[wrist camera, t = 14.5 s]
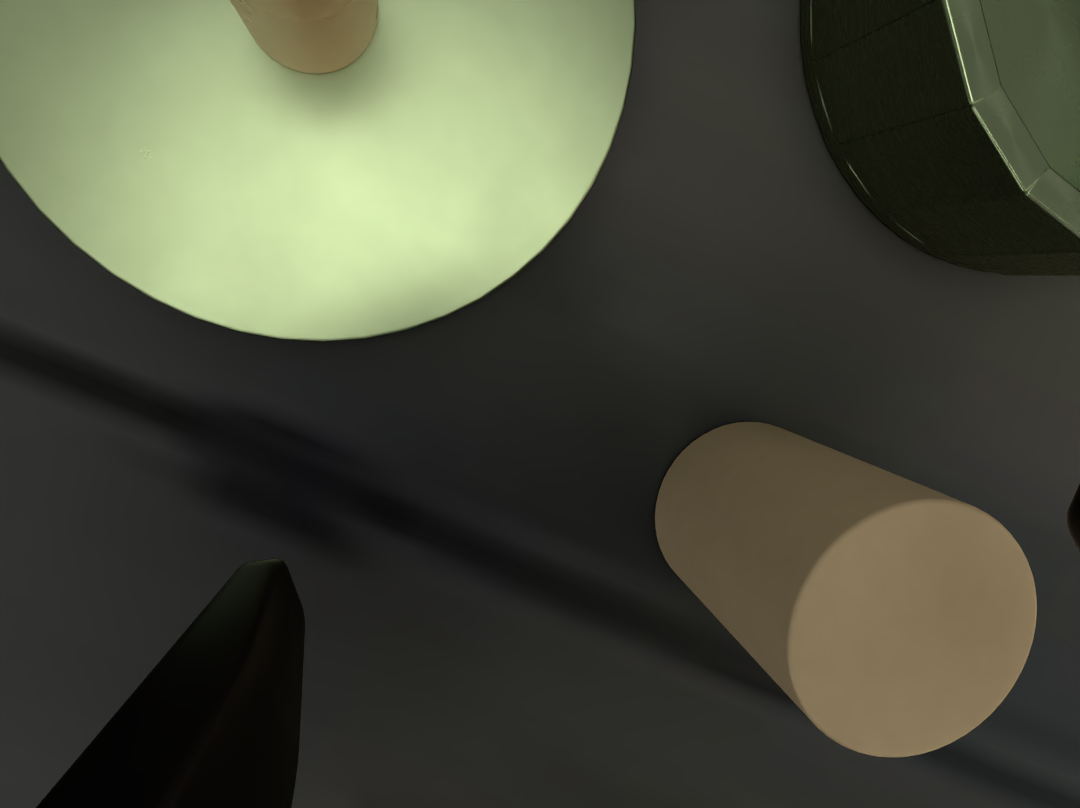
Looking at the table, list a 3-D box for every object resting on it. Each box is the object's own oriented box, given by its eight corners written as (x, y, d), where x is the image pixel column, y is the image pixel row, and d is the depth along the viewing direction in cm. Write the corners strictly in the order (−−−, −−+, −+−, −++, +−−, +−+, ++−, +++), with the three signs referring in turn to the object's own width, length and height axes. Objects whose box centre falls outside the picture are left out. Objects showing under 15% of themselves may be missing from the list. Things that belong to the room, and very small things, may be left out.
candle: (847, 551, 21) (1066, 687, 14) (689, 625, 20) (836, 803, 13) (794, 391, 20) (1001, 454, 13) (627, 466, 19) (751, 571, 12)
